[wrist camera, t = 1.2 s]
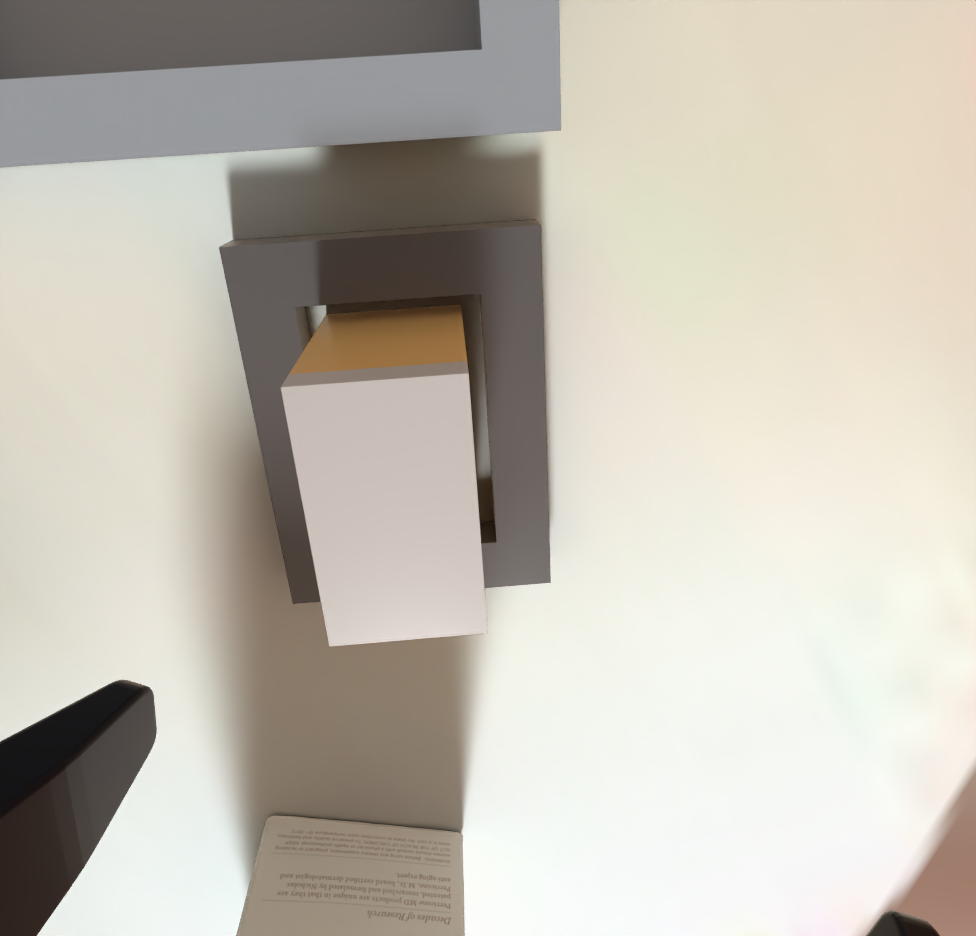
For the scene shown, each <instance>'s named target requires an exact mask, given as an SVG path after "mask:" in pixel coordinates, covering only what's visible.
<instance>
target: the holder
mask: <svg viewBox="0 0 976 936" xmlns="http://www.w3.org/2000/svg"><path fill="white" fill-rule="evenodd" d="M219 249H220V254H221V259H222V264H223V268H224V273H225V278H226V283H227V288H228V293H229V297H230V302H231V307H232V312H233V317H234V321H235V326H236V331H237V336H238V341H239V346H240V350H241V355H242V360H243V365H244V370H245V374H246V379H247V384H248V389H249V394H250V399H251V403H252V408H253V413H254V418H255V423H256V427H257V432H258V437H259V442H260V447H261V452H262V456H263V461H264V466H265V471H266V476H267V480H268V485H269V490H270V495H271V500H272V505H273V509H274V514H275V519H276V524H277V529H278V533H279V538H280V543H281V548H282V553H283V558H284V562H285V567H286V572H287V577H288V582H289V586H290V591H291V596H292V601H293V604H296V603H309V602H321V599H320V594H319V589H318V583H317V578H316V573H315V567H314V562H313V557H312V552H311V546H310V541H309V536H308V530H307V525H306V520H305V514H304V509H303V504H302V498H301V493H300V488H299V482H298V477H297V472H296V466H295V461H294V456H293V451H292V445H291V440H290V435H289V429H288V424H287V419H286V413H285V408H284V403H283V397H282V392H281V386H282V384H283V383H284V381H285V380H286V378H287V376H288V375H289V373H290V372H291V370H292V368H293V367H294V365H295V364H296V362H297V361H298V359H299V357H300V356H301V354H302V353H303V351H304V349H305V348H306V346H307V345H308V343H309V341H310V340H311V339H310V333H309V327H308V321H307V315H306V309H305V306H318V305H331V304H345V303H359V302H373V301H387V300H401V299H415V298H429V297H443V296H457V295H471V294H479V296H480V312H481V327H482V343H483V359H484V374H485V390H486V406H487V421H488V437H489V452H490V468H491V484H492V499H493V515H494V522H486V523H480V535H481V549H482V562H483V576H484V588H490V587H502V586H515V585H527V584H539V583H551V580H550V544H549V508H548V472H547V436H546V400H545V364H544V328H543V292H542V256H541V225H540V224H539V223H538V222H537V221H536V220H535V219H534V220H519V221H505V222H490V223H476V224H461V225H447V226H432V227H418V228H403V229H389V230H374V231H360V232H345V233H331V234H316V235H302V236H288V237H273V238H259V239H244V240H232V241H230V242H228V243H226V244H224V245H222V246H221V247H219Z"/></svg>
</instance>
